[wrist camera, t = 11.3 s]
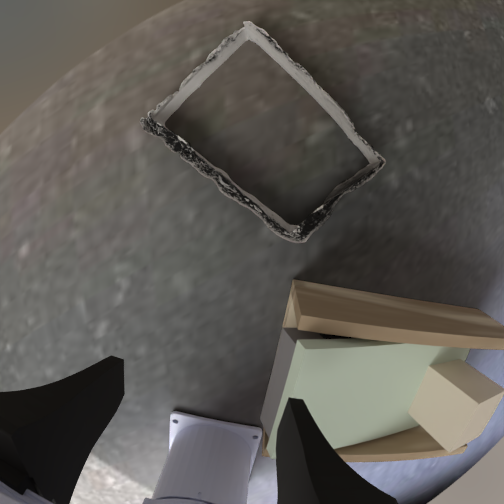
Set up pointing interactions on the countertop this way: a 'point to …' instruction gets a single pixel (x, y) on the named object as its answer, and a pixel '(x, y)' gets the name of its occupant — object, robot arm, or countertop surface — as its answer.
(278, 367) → the trapdoor
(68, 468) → the robot arm
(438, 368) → the beige cube
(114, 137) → the countertop surface
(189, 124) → the countertop surface
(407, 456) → the trapdoor frame
